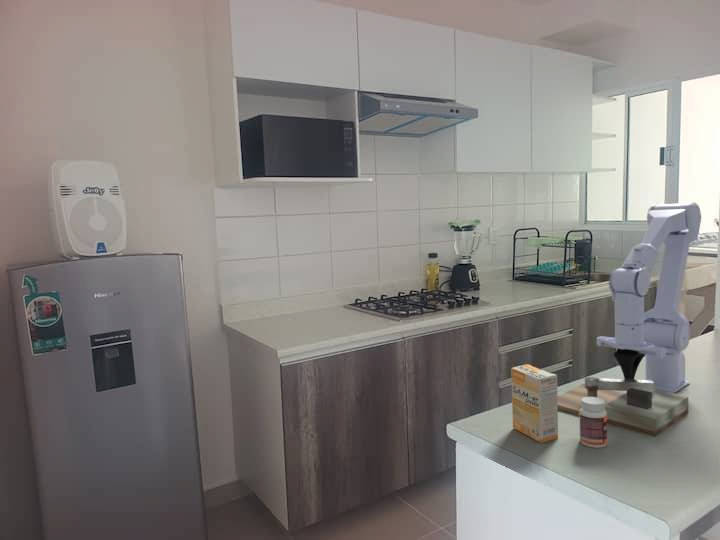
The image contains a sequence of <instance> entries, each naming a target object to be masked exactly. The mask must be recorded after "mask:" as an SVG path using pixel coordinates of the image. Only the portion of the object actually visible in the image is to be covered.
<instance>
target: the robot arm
mask: <svg viewBox="0 0 720 540" xmlns="http://www.w3.org/2000/svg"><path fill="white" fill-rule="evenodd" d="M701 213H702V212H701V209H700V206H699V204H698V203H697V202H694V201H692V202H684V203H662V204H661V203H660V204H658V203H654V204H652V205H651V206H650V207H649V208H648V211H647V215H646V220H647V225H648V227H647V229H646V231H645V234H644V236H643V238H642V240H641V243H639V244H636V245H634V246H633V247H632V248H631V250H630V252H629V253H628V255H627V256H626V257H625V260H624V262H623V263H622V265H621V266H620V268H619V267H618V268H616V269H614V270H613V271H612V272H611V274H610V276H609V280H608V288H609V292H610V293H611V300H612V302H613V303H614V337H612V336H603V335H600V336H598V337H596V346H598V347H606V348H607V347H608V348H612V349H616V351H615V352H614V353H613V356H614V358H615V359H616V361H617V363H618V364H619V367H620V369H621V372H622V374H623V379H635V377H636V374H637V370H638V367H639V365H640V363H641V362H642V360H643V358H644V357H645V380H652V381H653V382H654V389H656V390H661V391H665V392H670V393H675V394H676V392H678V391H680V390H681V389H683V388H684V387H686V386H687V385H689V384H690V380H686V356H685V354H684V351H685V350H686V349H687V347H688V346H689V344H690V337H691V335H690V325H691V324H690V321H689V319H688V318H687V317H686V316H685V315H684V314H682V313H681V312H680V311H679V307H680V302H681V296H682V290H683V284H684V279H685V278H684V277H685V273H686V268H687V262H688V257H689V256H688V255H689V250H690V245H691V243H693V242H695V241H697V240H698V237H699V234H700V233H699V232H700V228H701V223H702V214H701ZM663 243H664V245H665V247H664V252H663V258H662V262H661V264H662V265H661V269H660V273H659V280H658V285H657V289H656V296H655V303H654V307H652V308H651V309H649V310H647V311H645V295H647V293H648V291H649V289H650V285H651V284H650V283H651V280H652V275H651V273H652V272H653V270H654V268H655V266H656V265H657V264H658V261H659V259H660V253H659V251H658V250H659V249H660V247H661V246H662V245H663Z"/></svg>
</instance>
